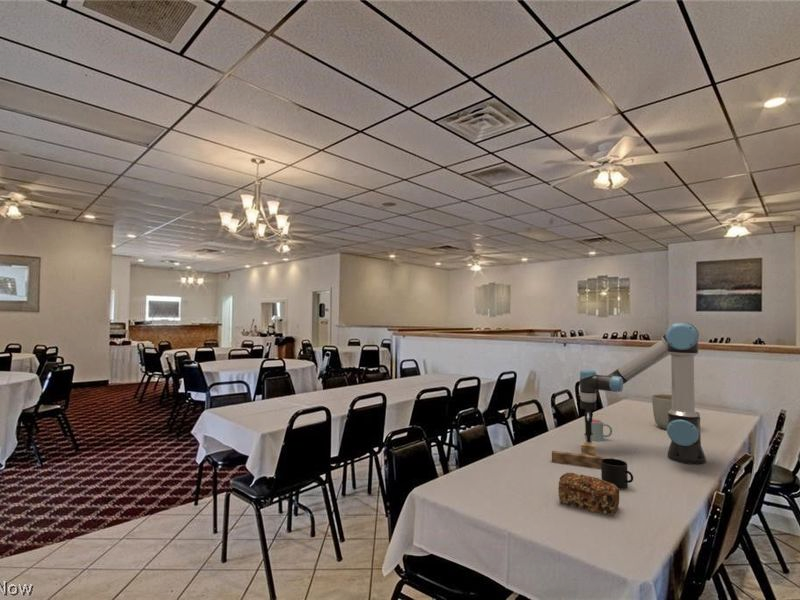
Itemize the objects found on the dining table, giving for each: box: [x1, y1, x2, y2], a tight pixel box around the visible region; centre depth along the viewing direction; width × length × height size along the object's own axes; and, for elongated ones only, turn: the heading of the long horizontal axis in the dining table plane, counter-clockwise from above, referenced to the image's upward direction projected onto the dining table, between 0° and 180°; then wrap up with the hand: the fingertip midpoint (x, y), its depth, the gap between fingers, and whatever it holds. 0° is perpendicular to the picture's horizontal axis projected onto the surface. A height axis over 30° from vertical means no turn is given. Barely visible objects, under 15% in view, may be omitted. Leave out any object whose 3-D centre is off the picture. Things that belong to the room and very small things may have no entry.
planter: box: [651, 393, 672, 431], centre depth 262 cm, size 21×21×19 cm
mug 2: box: [600, 457, 634, 490], centre depth 172 cm, size 9×12×9 cm
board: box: [551, 450, 615, 470], centre depth 196 cm, size 26×3×5 cm, turn 64°
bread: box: [557, 472, 620, 516], centre depth 155 cm, size 19×11×10 cm, turn 52°
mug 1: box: [584, 418, 613, 443], centre depth 238 cm, size 14×9×10 cm
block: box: [580, 441, 596, 456], centre depth 209 cm, size 6×6×6 cm
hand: (589, 448), depth 218 cm, fingers closed
